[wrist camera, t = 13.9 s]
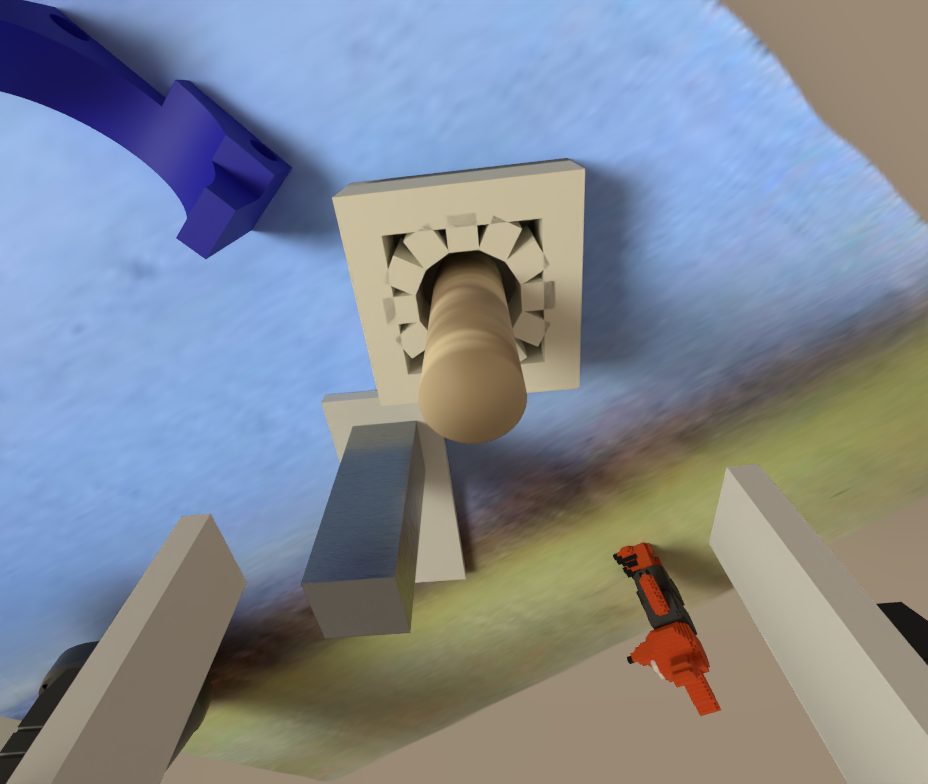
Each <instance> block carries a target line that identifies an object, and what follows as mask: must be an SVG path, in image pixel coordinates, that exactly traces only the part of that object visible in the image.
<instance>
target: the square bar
mask: <svg viewBox="0 0 928 784" xmlns="http://www.w3.org/2000/svg"><path fill="white" fill-rule="evenodd" d="M425 472H426V469H425V464H424V458H423V453H422V448H421V443H420V438H419V432H418V427H417V422H416V421H405V422H394V423H383V424H371V425H360V426H353V427H352V430H351V433H350V436H349V439H348V442H347V445H346V448H345V451H344V454H343V457H342V460H341V463H340V466H339V469H338V472H337V475H336V478H335V481H334V484H333V487H332V490H331V493H330V497H329V500H328V503H327V506H326V509H325V512H324V515H323V518H322V521H321V524H320V527H319V530H318V533H317V536H316V539H315V542H314V545H313V548H312V551H311V554H310V557H309V560H308V563H307V567H306V570H305V573H304V576H303V579H302V582H301V586H302V588H303V590H304V592H305V595H306V597H307V599H308V601H309V603H310V606H311V608H312V610H313V612H314V615H315V617H316V619H317V621H318V624H319V626H320V628H321V630H322V633H323V635H324V637H325V638H340V637H355V636H370V635H385V634H400V633H410V630H411V619H412V608H413V598H414V587H415V577H416V566H417V556H418V545H419V535H420V524H421V514H422V503H423V493H424V482H425Z"/></svg>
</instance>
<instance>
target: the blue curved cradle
mask: <svg viewBox="0 0 928 784" xmlns="http://www.w3.org/2000/svg"><path fill="white" fill-rule="evenodd" d="M0 91H1V92H5V93H9V94H12V95H16V96H19V97H22V98H25V99H28V100H31V101H34V102H37V103H39V104H42V105H44V106H47V107H50V108H52V109H54V110H57V111H59V112H61V113H63V114H66V115H68V116H70V117H72V118H74V119H76V120H78V121H80V122H82V123H84V124H86V125H88V126H90V127H91V128H93V129H95V130H97V131H99V132H100V133H102V134H104V135H105V136H107V137H109V138H110V139H112V140H114V141H115V142H117V143H118V144H120V145H121V146H123V147H124V148H126V149H127V150H129V151H130V152H131V153H133V154H134V155H135V156H137V157H138V158H139V159H141V160H142V161H143V162H145V163H146V164H147V165H148V166H149V167H151V168H152V169H153V170H154V171H155V172H156V173H157V174H158V175H159V176H160V177H161V178H162V179H163V180H164V181H165V182H166V183H167V184H168V185H169V186H170V187H171V188H172V190H173V191H174V192H175V193H176V195H177V196H178V198H179V199H180V201H181V202H182V204H183V206H184V209H185V211H186V215H187V220H186V222H185V223H184V225H183V227H182V229H181V230H180V232H179V234H178V236H177V237H176V238H177V239H178V240H180V241H181V242H182V243H184V244H185V245H187V246H188V247H189V248H191V249H192V250H194V251H195V252H196V253H198V254H199V255H201V256H202V257H203V258H205V259H207V258H209V257H210V256H212V255H213V254H215V253H217V252H218V251H220V250H221V249H223V248H224V247H226V246H228V245H229V244H231V243H232V242H234V241H235V240H237V239H239V238H240V237H242V236H243V235H245V234H246V233H248V232H250V231H251V230H252V229H253V227H254V226H255V224H256V223H257V221H258V219H259V218H260V216H261V215H262V213H263V212H264V210H265V209H266V207H267V206H268V204H269V203H270V201H271V199H272V198H273V196H274V195H275V193H276V192H277V190H278V189H279V187H280V186H281V184H282V183H283V181H284V179H285V178H286V176H287V175H288V173H289V172H290V170H291V169H292V167H291V166H289V165H288V164H287V163H286V162H285V161H284V160H282V159H281V158H280V157H279V156H278V155H276V154H275V153H274V152H273V151H272V150H271V149H269V148H268V147H267V146H266V145H265V144H263V143H262V142H261V141H260V140H259V139H257V138H256V137H255V136H254V135H253V134H252V133H250V132H249V131H248V130H247V129H246V128H244V127H243V126H242V125H241V124H240V123H239V122H237V121H236V120H235V119H234V118H233V117H231V116H230V115H229V114H228V113H227V112H225V111H224V110H223V109H222V108H221V107H220V106H218V105H217V104H216V103H215V102H214V101H212V100H211V99H210V98H209V97H208V96H207V95H205V94H204V93H203V92H202V91H201V90H199V89H198V88H197V87H196V86H195V85H193V84H192V83H191V82H190V81H189V80H175V81H174V83H173V85H172V87H171V89H170V91H169V93H168V95H167V97H166V98H165V97H164V96H163V95H161V94H160V93H159V92H158V91H157V90H155V89H154V88H153V87H152V86H150V85H149V84H148V83H147V82H145V81H144V80H143V79H142V78H141V77H139V76H138V75H137V74H136V73H134V72H133V71H132V70H131V69H130V68H128V67H127V66H126V65H125V64H123V63H122V62H121V61H120V60H118V59H117V58H116V57H115V56H114V55H112V54H111V53H110V52H109V51H107V50H106V49H105V48H104V47H103V46H101V45H100V44H99V43H98V42H96V41H95V40H94V39H93V38H91V37H90V36H89V35H88V34H87V33H85V32H84V31H83V30H82V29H80V28H79V27H78V26H77V25H76V24H74V23H73V22H72V21H71V20H69V19H68V18H67V17H66V16H64V15H63V14H62V13H61V12H60V11H58V10H57V9H56V8H55V7H52V6H47V5H43V4H38V3H34V2H29V1H25V0H0Z"/></svg>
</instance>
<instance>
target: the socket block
mask: <svg viewBox="0 0 928 784" xmlns="http://www.w3.org/2000/svg"><path fill="white" fill-rule="evenodd" d="M584 194H585V168H583V167H581V166H579V165H578V164H576V163H574V162H573V161H571V160H569V159H568V158H564V159H555V160H546V161H538V162H529V163H520V164H512V165H503V166H494V167H486V168H477V169H468V170H460V171H451V172H442V173H434V174H425V175H416V176H407V177H399V178H390V179H381V180H373V181H364V182H355V183H350V184H349V185H347V186H346V187H345V188H344V189H342V190H341V191H340V192H339V193H337V194H336V195H335V196H333V197H332V200H333V204H334V209H335V213H336V217H337V221H338V226H339V230H340V234H341V238H342V243H343V247H344V251H345V255H346V260H347V264H348V268H349V272H350V277H351V281H352V285H353V289H354V294H355V298H356V302H357V306H358V311H359V315H360V319H361V323H362V328H363V332H364V336H365V340H366V345H367V349H368V353H369V357H370V361H371V366H372V370H373V374H374V378H375V383H376V387H377V391H378V395H379V400H380V404H381V406H388V405H399V404H410V403H419V401H418V397H419V388H420V381H421V374H422V367H423V359H424V352H425V345H426V338H427V331H428V324H429V317H430V310H431V303H432V296H433V289H434V282H435V276H436V272H437V269H438V267H439V266H440V264H441V263H442V261H443V260H444V259H445V258H447V257H448V256H449V255H451V254H452V253H455V252H463V251H472V250H476V251H479V252H482V253H484V254H486V255H487V256H489V257H490V258H491V259H492V260H493V261H494V262H495V263H496V265H497V267H498V269H499V271H500V274H501V278H502V283H503V287H504V292H505V296H506V301H507V305H508V310H509V314H510V319H511V323H512V328H513V332H514V337H515V341H516V346H517V350H518V355H519V359H520V364H521V368H522V373H523V377H524V382H525V386H526V392H527V393H532V392H543V391H554V390H565V389H576V388H579V381H580V344H581V306H582V269H583V232H584Z"/></svg>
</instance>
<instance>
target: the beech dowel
mask: <svg viewBox="0 0 928 784" xmlns="http://www.w3.org/2000/svg"><path fill="white" fill-rule="evenodd" d="M418 401H419V407H420V411H421V414H422V416H423V418H424V419H425V421H426V422H427V424H428V425H429V426H430V427H431V428H432V429H433V430H434V431H435V432H437V433H438V434H440V435H441V436H443V437H445V438H447V439H450V440H452V441H456V442H460V443H469V444H475V443H484V442H488V441H492V440H494V439H497V438H499V437H501V436H503V435H505V434H506V433H508V432H509V431H510V430H511V429H513V428H514V427H515V425H516V424H517V423H518V422H519V420H520V419H521V417H522V415H523V414H524V411H525V408H526V403H527V392H526V386H525V382H524V377H523V373H522V368H521V364H520V359H519V355H518V350H517V346H516V341H515V337H514V332H513V328H512V323H511V319H510V314H509V310H508V305H507V301H506V296H505V292H504V287H503V283H502V278H501V274H500V271H499V269H498V267H497V265H496V263H495V262H494V261H493V260H492V259H491V258H490V257H489V256H487V255H486V254H484V253H482V252H479V251H476V250H472V251H463V252H455V253H452V254H451V255H449V256H448V257H447V258H445V259H444V260H443V261H442V263H441V264H440V266H439V267H438V269H437V272H436V276H435V282H434V289H433V296H432V303H431V310H430V317H429V324H428V331H427V338H426V345H425V352H424V359H423V367H422V374H421V381H420V388H419V397H418Z"/></svg>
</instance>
